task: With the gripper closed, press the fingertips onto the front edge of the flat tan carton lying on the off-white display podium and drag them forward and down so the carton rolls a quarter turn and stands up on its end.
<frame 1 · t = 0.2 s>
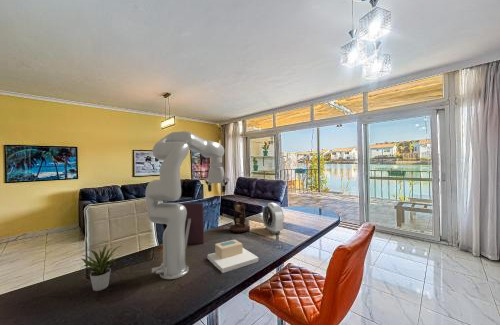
hand: (216, 191, 142), 31 cm above the table, tool pointing down, fingers open, 9 cm apart
alarm clock: (273, 231, 157), on the table
carton: (228, 253, 115), point 2 cm above the table, touching display podium
display podium: (232, 259, 112), on the table
picture frame: (188, 246, 132), on the table
house plant: (103, 285, 90), on the table
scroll: (239, 230, 159), on the table
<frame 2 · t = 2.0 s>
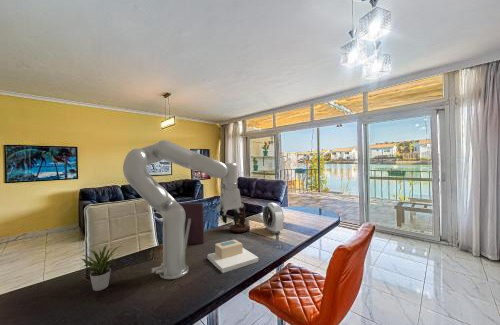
hand: (230, 221, 113), 20 cm above the table, tool pointing down, fingers open, 6 cm apart
nothing on the table moved.
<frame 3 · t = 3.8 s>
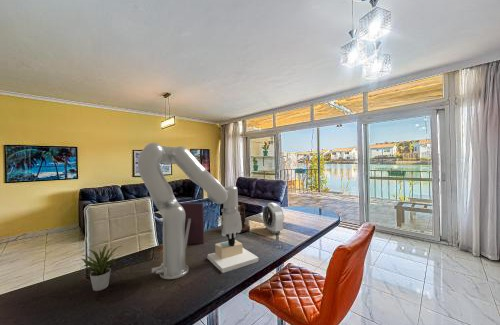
hand: (231, 245, 113), 7 cm above the table, tool pointing down, fingers closed
carton: (228, 253, 115), point 2 cm above the table, touching display podium, gripper
everything else where it was.
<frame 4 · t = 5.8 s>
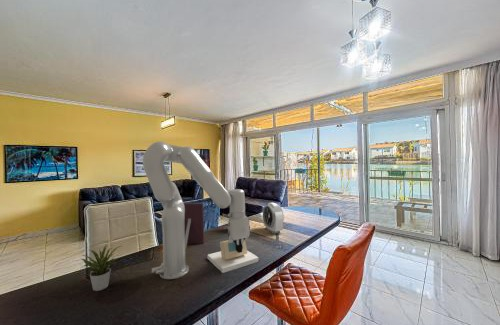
hand: (239, 251, 108), 6 cm above the table, tool pointing down, fingers closed
carton: (231, 247, 113), point 6 cm above the table, tilted 73°, touching display podium, gripper
everything else where it was.
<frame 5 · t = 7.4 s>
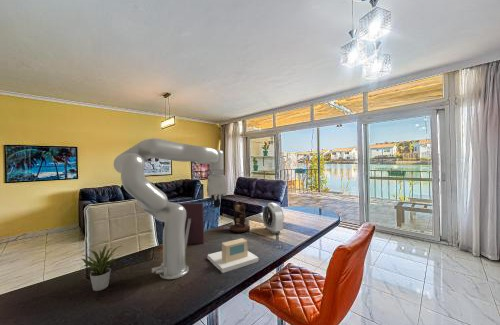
hand: (216, 206, 118), 26 cm above the table, tool pointing down, fingers closed
carton: (232, 248, 112), point 6 cm above the table, tilted 90°, touching display podium
everything else where it was.
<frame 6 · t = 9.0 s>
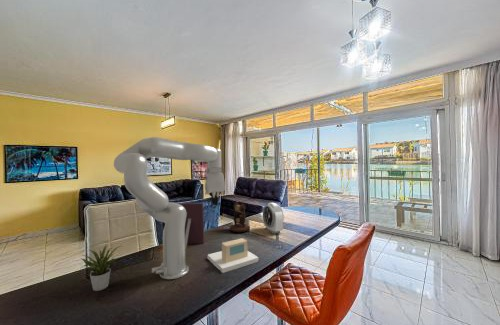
hand: (215, 204, 120), 27 cm above the table, tool pointing down, fingers closed
nothing on the table moved.
at the end: carton tilted 90°; carton 0.0 cm from the target spot, point 6.0 cm above the table; carton touching display podium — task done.
